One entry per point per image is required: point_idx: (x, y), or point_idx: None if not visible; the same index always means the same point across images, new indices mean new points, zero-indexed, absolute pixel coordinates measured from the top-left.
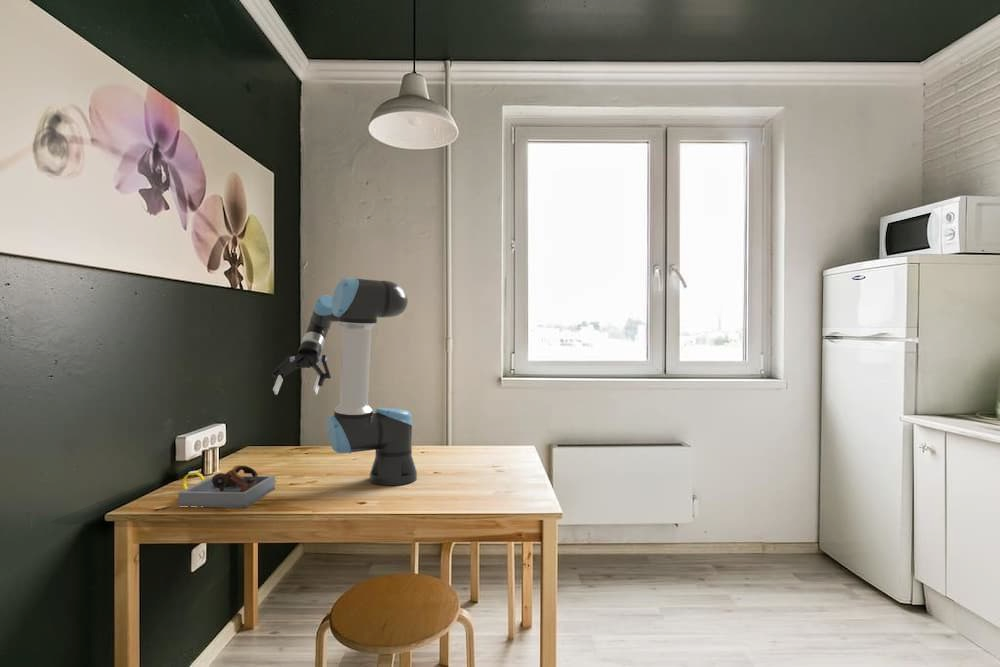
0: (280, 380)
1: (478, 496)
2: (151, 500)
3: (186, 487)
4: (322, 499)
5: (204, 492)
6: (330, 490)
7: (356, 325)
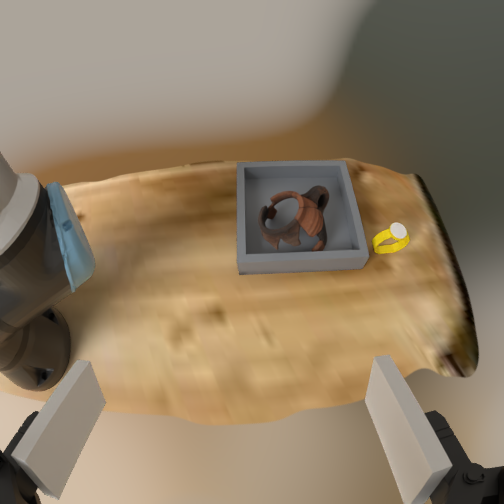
0: (406, 460)
1: None
2: (405, 202)
3: (399, 245)
4: (133, 225)
5: (306, 162)
6: (128, 274)
7: None
